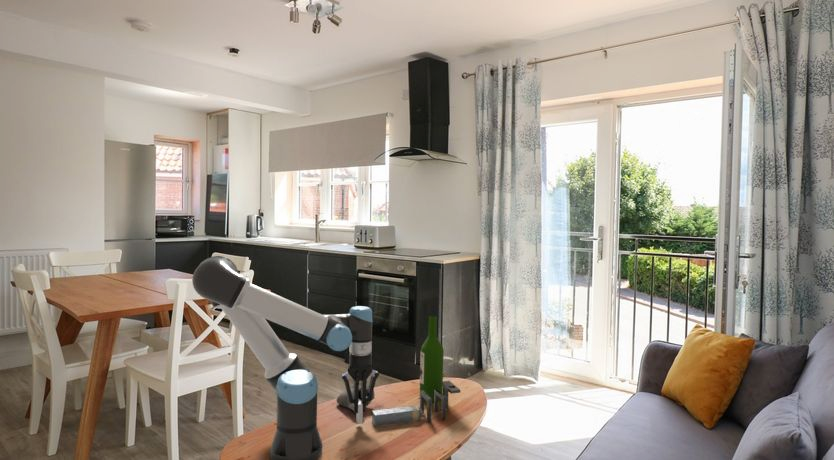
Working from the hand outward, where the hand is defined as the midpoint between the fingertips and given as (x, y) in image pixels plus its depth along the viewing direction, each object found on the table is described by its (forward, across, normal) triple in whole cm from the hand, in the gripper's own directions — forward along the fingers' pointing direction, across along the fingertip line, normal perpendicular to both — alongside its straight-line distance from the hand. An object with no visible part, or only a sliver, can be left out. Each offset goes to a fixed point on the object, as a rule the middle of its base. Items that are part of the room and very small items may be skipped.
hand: (359, 421), depth 164 cm
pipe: (+2, +3, +16) cm, 17 cm away
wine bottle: (+2, +32, +15) cm, 35 cm away
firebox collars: (+2, +29, +1) cm, 30 cm away
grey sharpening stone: (+2, +13, 0) cm, 13 cm away
